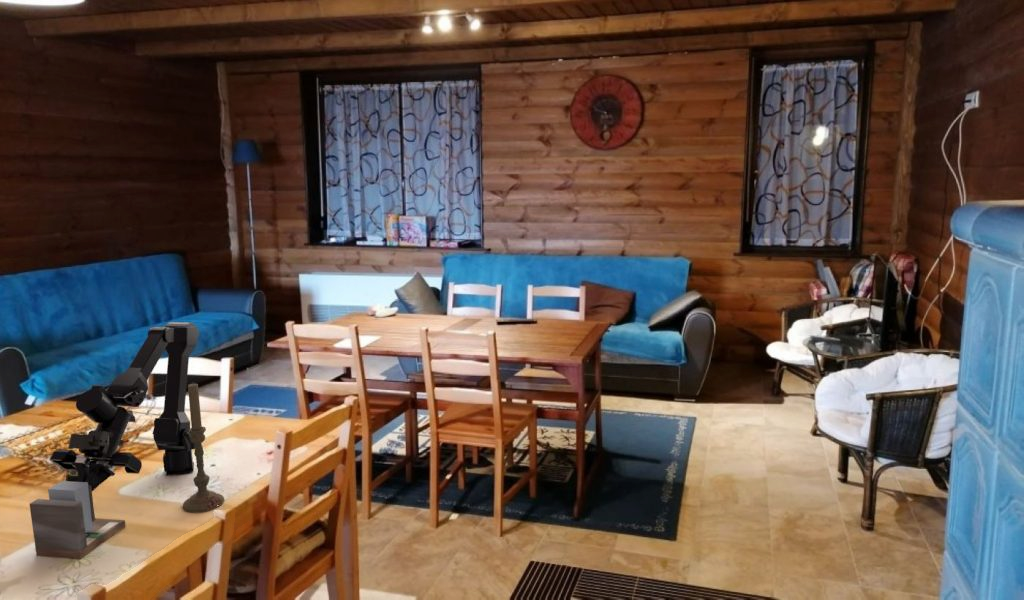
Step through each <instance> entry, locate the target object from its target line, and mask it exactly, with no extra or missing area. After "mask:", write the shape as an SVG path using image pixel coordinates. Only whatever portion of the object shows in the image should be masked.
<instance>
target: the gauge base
mask: <svg viewBox="0 0 1024 600" xmlns="http://www.w3.org/2000/svg"><path fill="white" fill-rule="evenodd" d="M29 511H30V518H31V525H32V532H33V540H34V549H35V554H36V557H45V556H47V558H49V557H50V558H51V557H52V558H59V559H60V558H62V559H72V560H73V559H76V560H81V559H83V558H84V557H85V556H87V555H88V554H90V552H92V551H94V550H95V549H96V548H98V547H100V546H101V545H102V544H104V543H105V542H106V541H107V540H109V539H110V538H112V537H113V536H114V535H115V534H117V533H119V532H120V531H121V530H122V529H123V528H126V520H125V519H113V518H96V517H95V521H93V530H94V531H92V532H99V534H97V535H94V534H88V535H86V532H85V524H84V516H83V508H82V502H81V501H64V500H49V499H47V498H46V499H45V498H37V499H35V500H34V501H32V502H30V503H29Z"/></svg>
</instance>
